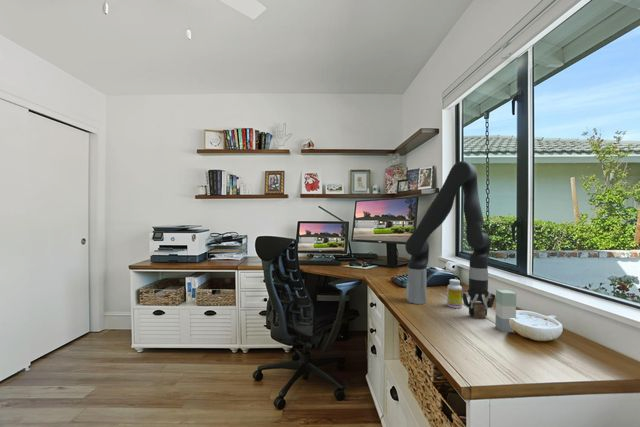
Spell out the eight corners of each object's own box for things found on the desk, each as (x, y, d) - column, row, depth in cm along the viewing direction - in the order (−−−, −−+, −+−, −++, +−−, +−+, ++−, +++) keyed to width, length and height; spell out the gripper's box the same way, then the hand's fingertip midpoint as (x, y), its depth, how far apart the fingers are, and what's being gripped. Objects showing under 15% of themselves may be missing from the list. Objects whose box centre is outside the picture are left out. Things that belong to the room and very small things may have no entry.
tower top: (502, 305, 112) (502, 292, 112) (495, 301, 117) (496, 289, 117) (516, 306, 112) (516, 293, 112) (509, 302, 117) (509, 290, 117)
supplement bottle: (463, 309, 139) (464, 282, 138) (448, 308, 140) (449, 281, 140) (459, 304, 145) (460, 279, 145) (445, 303, 146) (446, 278, 146)
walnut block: (474, 318, 126) (474, 304, 126) (470, 315, 130) (470, 301, 130) (485, 319, 126) (485, 305, 126) (480, 315, 130) (481, 302, 130)
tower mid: (502, 318, 112) (502, 305, 112) (495, 314, 117) (495, 301, 117) (515, 319, 112) (516, 306, 112) (508, 315, 117) (509, 302, 117)
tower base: (501, 331, 112) (502, 318, 112) (495, 326, 117) (495, 314, 117) (515, 332, 112) (515, 319, 112) (508, 327, 117) (508, 314, 117)
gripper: (491, 276, 131) (490, 314, 131) (458, 275, 132) (457, 312, 132) (499, 280, 124) (499, 320, 124) (464, 279, 125) (464, 318, 125)
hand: (477, 316), depth 128 cm, fingers closed on walnut block, 4 cm apart
